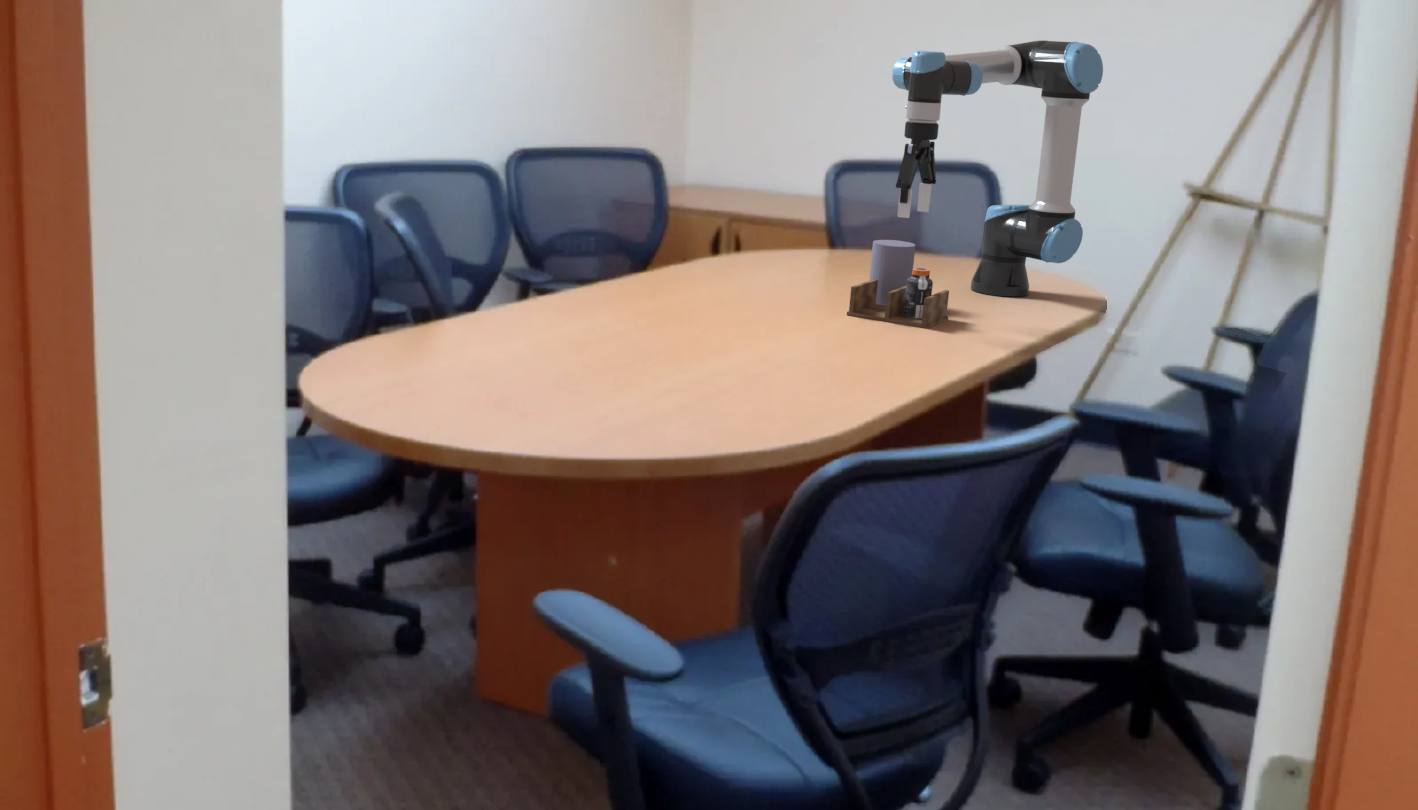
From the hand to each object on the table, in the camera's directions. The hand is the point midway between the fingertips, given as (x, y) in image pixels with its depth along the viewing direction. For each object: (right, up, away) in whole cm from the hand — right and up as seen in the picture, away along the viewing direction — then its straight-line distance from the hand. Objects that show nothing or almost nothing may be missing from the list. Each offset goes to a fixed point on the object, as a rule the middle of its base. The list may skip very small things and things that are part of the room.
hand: (913, 214), depth 313 cm
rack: (-3, -23, +5) cm, 24 cm away
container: (-3, -19, +20) cm, 28 cm away
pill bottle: (+1, -24, +3) cm, 24 cm away
